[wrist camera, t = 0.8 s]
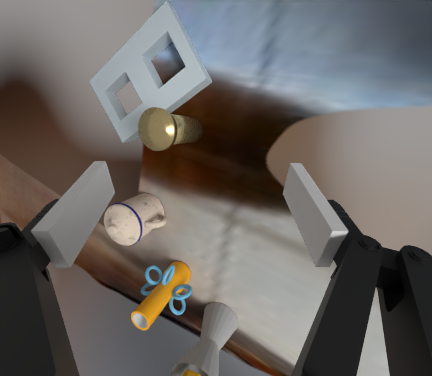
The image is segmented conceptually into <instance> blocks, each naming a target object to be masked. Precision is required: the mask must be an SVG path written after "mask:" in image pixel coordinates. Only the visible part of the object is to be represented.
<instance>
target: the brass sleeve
mask: <svg viewBox="0 0 432 376" xmlns="http://www.w3.org/2000/svg"><path fill="white" fill-rule="evenodd" d="M138 132H139V136H140V138H141V140H142V142H143V143H144V144H145V146H147V147H148V148H149V149H151V150H154V151H161V150H166V149H168V148H170V147H171V146H172V145H173V144H180V143H189V142H195V141H197V140H199V139H200V137H201V135H202V132H203V128H202V124H201V122H200V121H199V120H198V119H197V118H195V117H189V116H181V115H173V114H171V113H170V112H169V111H167V110H165V109H163V108H158V107H152V108H149V109H147V110H145V111H144V112H143V113H142V115H141V117H140V119H139V123H138Z"/></svg>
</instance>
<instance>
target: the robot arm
mask: <svg viewBox="0 0 432 376" xmlns="http://www.w3.org/2000/svg"><path fill="white" fill-rule="evenodd" d="M114 194H115V190H114V187H113V184H112V181H111V177H110V174H109V171H108V168H107V164H106V161H94V162H93V163H92V165H91V166H90V167H89V168H88V169H87V170H86V171H85V172H84V173H83V174H82V176H81V177H80V178H79V179H78V180H77V181H76V182H75V183H74V184H73V185H72V186H71V187H70V189H69V190H68V191H67V192H66V193H65V194H64V195H63V196H62V197H61V198H60V199H55V200H54V201H52V202H50V203H49V204H47V205H46V206H45V207H44V208H43V209H42V210H41V212H39V213H38V214H37V215H36V218H34V219H33V220H32V221H31V222H30V223H29V224H28V225H27V226H26V227H25V228H24V229H23V230H22V231H20V230H19V228H18V227H17V226H16V224H15V223H11V222H10V223H2V224H0V376H79V373H78V369H77V366H76V362H75V359H74V356H73V353H72V349H71V345H70V342H69V339H68V335H67V332H66V328H65V325H64V322H63V318H62V315H61V311H60V308H59V304H58V301H57V298H56V294H55V291H54V287H53V284H52V281H51V278H50V274H49V271H48V269H47V268H46V267H47V265H48V264H49V262H50V261H51V262H52V264H53V265H54V267H55V268H70V267H71V266H72V264H73V262H74V261H75V259H76V257H77V256H78V254H79V252H80V251H81V249H82V247H83V246H84V244H85V242H86V241H87V239H88V237H89V236H90V234H91V232H92V231H93V229H94V227H95V226H96V224H97V222H98V221H99V219H100V217H101V216H102V214H103V212H104V210H105V209H106V207H107V206H108V204H109V202H110V201H111V199H112V197H113V195H114ZM283 195H284V197H285V200H286V202H287V204H288V206H289V209H290V211H291V213H292V215H293V217H294V220H295V222H296V224H297V226H298V228H299V231H300V233H301V235H302V237H303V239H304V242H305V244H306V246H307V248H308V250H309V253H310V255H311V257H312V259H313V261H314V264H315V266H316V267H330V265H331V263H332V261H333V260H334V261H335V263H336V265H337V267H336V269H335V270H334V272H333V274H332V276H331V280H330V283H329V285H328V288H327V290H326V293H325V295H324V297H323V300H322V302H321V305H320V307H319V310H318V312H317V314H316V317H315V319H314V322H313V324H312V326H311V329H310V331H309V334H308V336H307V339H306V341H305V343H304V346H303V348H302V351H301V353H300V356H299V358H298V360H297V363H296V365H295V368H294V370H293V373H292V375H291V376H356V375H357V370H358V366H359V361H360V356H361V352H362V347H363V343H364V338H365V334H366V329H367V324H368V320H369V315H370V311H371V306H372V302H373V297H374V292H375V288H376V287H377V289H378V296H379V303H380V310H381V317H382V324H383V331H384V338H385V345H386V352H387V359H388V366H389V373H390V376H432V256H431V255H430V254H429V253H427V252H426V251H424V250H422V249H420V248H418V247H415V246H410V245H408V246H404V247H402V248H401V250H400V251H396V250H392V249H387V248H383V247H382V246H381V244H380V243H379V242H377V241H376V240H375V239H373V238H371V237H369V236H366V235H363V234H362V233H361V231H360V230H359V229H358V227H357V226H356V225H355V224H354V222H353V221H352V220H351V218H349V216H348V214H347V213H345V210H344V209H343V208H342V207H341V205H340V204H338V203H337V202H335V201H334V200H326V198H325V197H324V195H323V194H322V193H321V191H320V190H319V188H318V187H317V185H316V184H315V183H314V181H313V180H312V178H311V177H310V175H309V174H308V173H307V171H306V170H305V168H304V167H303V165H302V164H301V163H290V167H289V171H288V175H287V179H286V183H285V187H284V191H283Z"/></svg>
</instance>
